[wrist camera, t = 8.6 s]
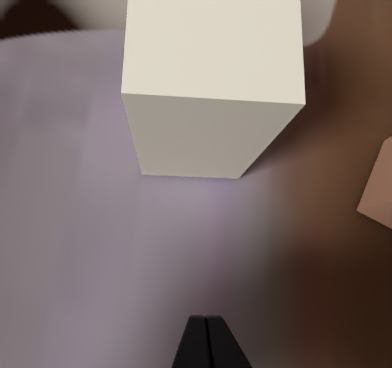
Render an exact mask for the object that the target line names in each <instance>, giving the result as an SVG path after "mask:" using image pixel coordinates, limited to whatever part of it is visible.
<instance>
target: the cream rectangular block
mask: <svg viewBox="0 0 392 368" xmlns="http://www.w3.org/2000/svg"><path fill="white" fill-rule="evenodd" d="M121 94H122V98H123V102H124V106H125V110H126V114H127V118H128V122H129V126H130V130H131V134H132V138H133V142H134V146H135V150H136V154H137V158H138V162H139V166H140V170H141V174H142V175H161V176H185V177H209V178H233V179H239V178H240V176H241V175H242V174H243V173H244V172H245V171H246V170H247V169H248V168H249V166H250V165H251V164H252V163H253V162H254V161H255V160H256V159H257V158H258V156H259V155H260V154H261V153H262V152H263V151H264V150H265V149H266V148H267V146H268V145H269V144H270V143H271V142H272V141H273V140H274V139H275V138H276V137H277V135H278V134H279V133H280V132H281V131H282V130H283V129H284V128H285V127H286V125H287V124H288V123H289V122H290V121H291V120H292V119H293V118H294V117H295V115H296V114H297V113H298V112H299V111H300V110H301V109H302V108H303V107H304V105H305V104H306V102H305V83H304V63H303V44H302V24H301V6H300V0H128V7H127V21H126V34H125V48H124V62H123V75H122V89H121Z"/></svg>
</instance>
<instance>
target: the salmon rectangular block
mask: <svg viewBox="0 0 392 368" xmlns="http://www.w3.org/2000/svg"><path fill="white" fill-rule="evenodd" d="M356 211H358V212H360V213H362V214H364V215H366V216H368V217H370V218H372V219H374V220H375V221H377V222H379V223H381V224H383V225H385V226H387V227H389V228H391V229H392V137H390V138H388V139H386V140H384V142H383V145H382V148H381V150H380V153H379V155H378V158H377V160H376V163H375V165H374V168H373V170H372V173H371V175H370V178H369V180H368V183H367V185H366V188H365V190H364V193H363V195H362V198H361V200H360V203H359V205H358V208H357V210H356Z"/></svg>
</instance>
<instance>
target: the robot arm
mask: <svg viewBox="0 0 392 368" xmlns="http://www.w3.org/2000/svg"><path fill="white" fill-rule="evenodd" d="M171 368H252V366H251V365H250V363H249V361H248V360H247V358H246V356H245V355H244V353H243V351H242V350H241V348H240V346H239V344H238V343H237V341H236V339H235V338H234V336H233V334H232V333H231V331H230V329H229V328H228V326H227V324H226V323H225V321H224V319H223V318H222V317H221V316H219V315H207V316H206V317H205V316H203V315H191V316H190V317H189V319H188V321H187V324H186V327H185V330H184V333H183V336H182V339H181V342H180V344H179V347H178V350H177V353H176V356H175V359H174V362H173V364H172V367H171Z"/></svg>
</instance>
